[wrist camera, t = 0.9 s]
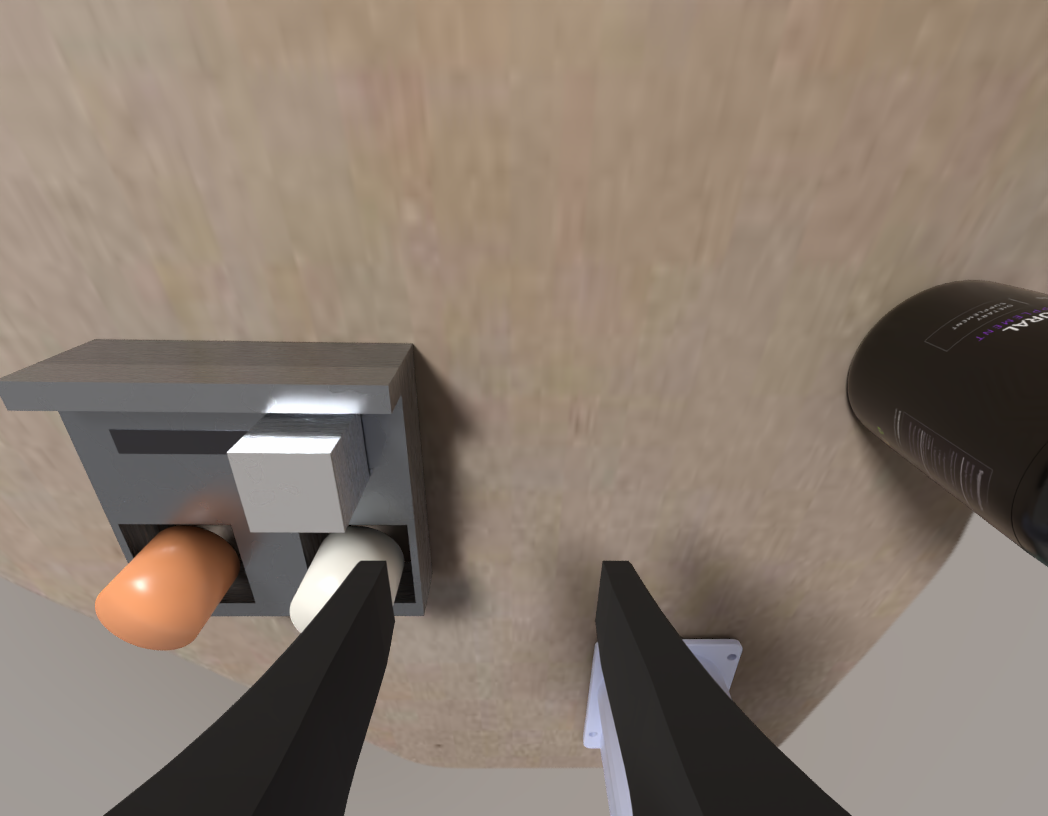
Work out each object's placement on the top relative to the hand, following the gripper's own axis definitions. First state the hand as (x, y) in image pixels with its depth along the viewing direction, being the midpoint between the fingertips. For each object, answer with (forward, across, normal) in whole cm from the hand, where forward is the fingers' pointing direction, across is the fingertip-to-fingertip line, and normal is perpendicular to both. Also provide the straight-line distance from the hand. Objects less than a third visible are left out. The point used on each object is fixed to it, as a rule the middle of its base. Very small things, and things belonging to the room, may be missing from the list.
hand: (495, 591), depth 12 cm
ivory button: (+7, +6, +6) cm, 11 cm away
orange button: (+7, +13, +6) cm, 16 cm away
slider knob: (+7, +6, 0) cm, 9 cm away
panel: (+9, +10, +3) cm, 14 cm away
